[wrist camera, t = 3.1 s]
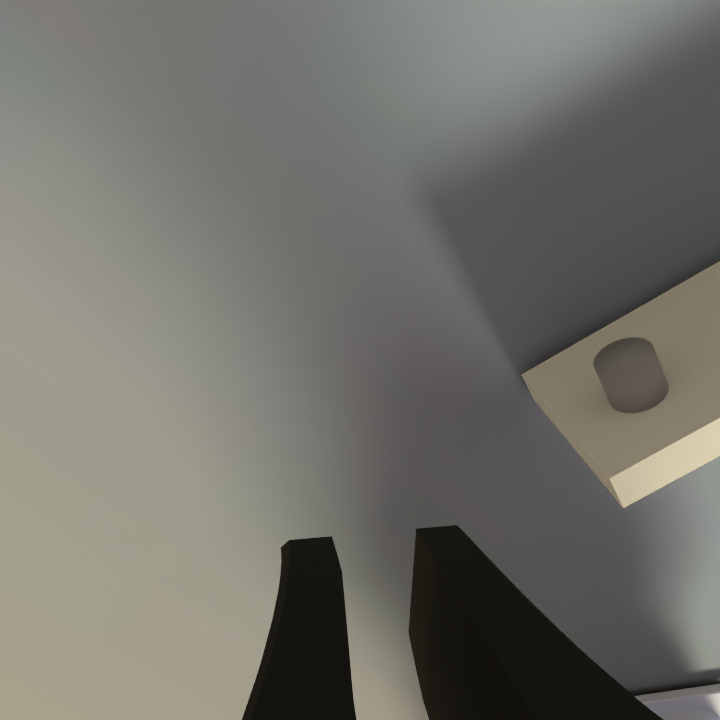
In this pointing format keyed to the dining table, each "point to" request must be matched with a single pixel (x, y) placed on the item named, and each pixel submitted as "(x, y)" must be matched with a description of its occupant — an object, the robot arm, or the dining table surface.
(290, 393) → the dining table surface
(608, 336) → the cabinet door
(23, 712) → the dining table surface
